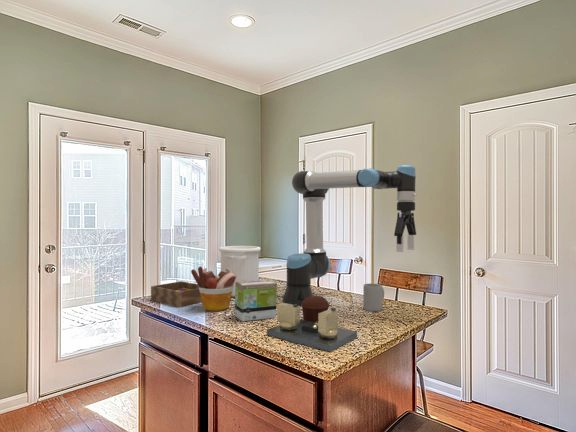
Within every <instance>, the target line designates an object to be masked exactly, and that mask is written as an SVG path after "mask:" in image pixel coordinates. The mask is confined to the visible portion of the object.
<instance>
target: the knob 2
mask: <svg viewBox="0 0 576 432" xmlns="http://www.w3.org/2000/svg"><path fill="white" fill-rule="evenodd" d="M336 328H339V309H337V308H336V307H331V308H328V310H326V311H324V312H321V313H318V332H319V336H320V337H322V338H327V339H332V338H336V337H337V329H336Z"/></svg>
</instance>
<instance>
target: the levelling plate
mask: <svg viewBox="0 0 576 432" xmlns="http://www.w3.org/2000/svg"><path fill="white" fill-rule="evenodd" d="M336 329H337V337H336V338H332V339H327V338H322V337H320V336H319V332H318V321H317V322H310V321H306V320H304V319H301V318H300V323H298V324H297V328H296V329H293V330H284V329H281V328H280V324H279V325H276V326H273V327H270V328H268V329H266V336H268V335H269V337H272V336H273V337H272V338H275V337H276V338H277V339H279V338H280V340H284V341H287V342H291V343H295V344H299V345H303V346H306V347H310V348H314V349H318V350H321V351H325V352H329V353H331V352H333V351H335V350H336V349H338V348H340V347H342V346H344V345H346V344H348V343H349V342H351V341H353V340H355V339H357V338H358V331H356V330H352V329H346V328H342V327H338V328H336Z"/></svg>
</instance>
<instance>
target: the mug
mask: <svg viewBox="0 0 576 432" xmlns="http://www.w3.org/2000/svg"><path fill="white" fill-rule="evenodd" d="M384 298H385V289H384V288H383V284H380V283H363V299H362V300H363V301H362V302H363V303H362V304H363V310H364V311H367V312H381V311H382V310H383V301H384Z"/></svg>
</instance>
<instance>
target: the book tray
mask: <svg viewBox="0 0 576 432" xmlns="http://www.w3.org/2000/svg"><path fill="white" fill-rule="evenodd" d="M179 288H181V289H182V288H187V289H192V290H187V291H181V292H180V291H175V290H176V289H179ZM150 301H152V302H156V303H161V304H164V305H168V306H171V307H172V306H173V307H175V308H180V309H181V308H183V307H185V308H186V307H189V306H193V304H194V305H197V304H202V301H201V296H200V291H199V287H198V284H197V283H192V282H189V281H188V282H187V281H182V280H181V281H174V282H169V283H168V282H167V283H162V284H157V285H151V286H150Z"/></svg>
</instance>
